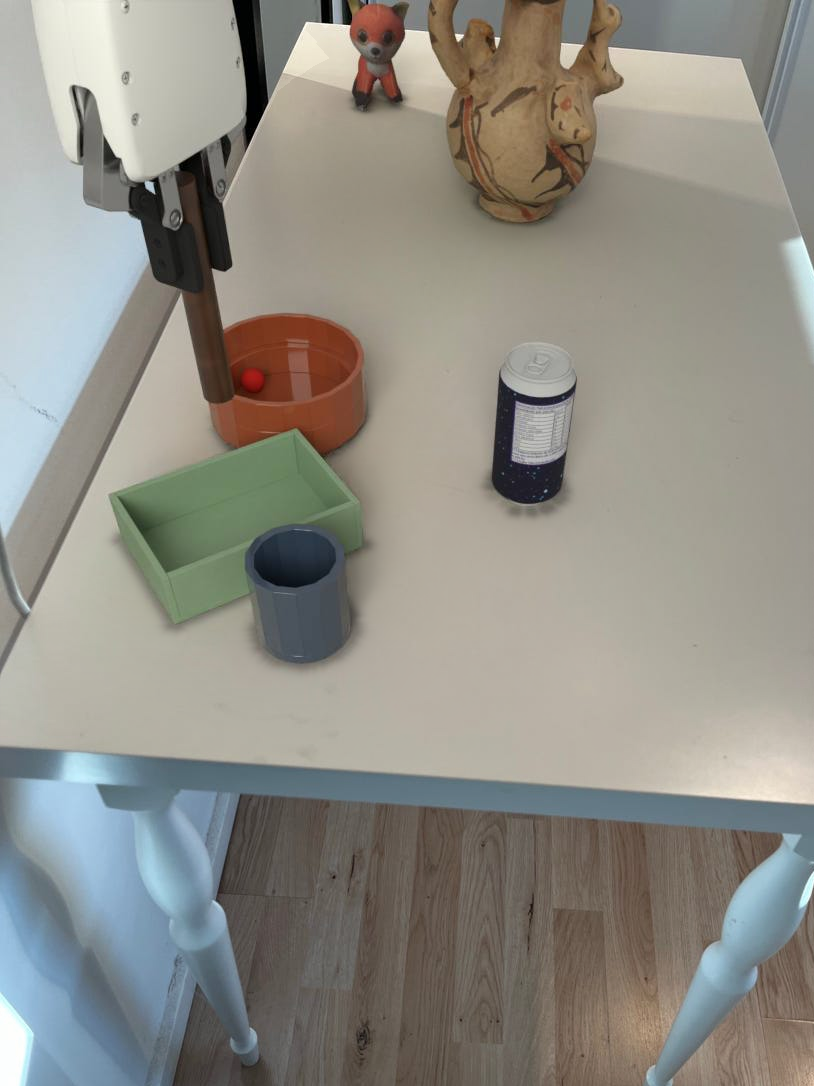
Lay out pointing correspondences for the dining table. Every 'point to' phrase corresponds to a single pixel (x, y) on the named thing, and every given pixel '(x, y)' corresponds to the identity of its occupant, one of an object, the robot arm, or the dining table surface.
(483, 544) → the dining table surface
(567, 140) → the ceramic vessel
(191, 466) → the tray
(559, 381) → the beverage can
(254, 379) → the berry
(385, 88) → the stuffed fox
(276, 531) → the holder
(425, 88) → the dining table surface
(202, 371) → the stick
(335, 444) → the bowl
